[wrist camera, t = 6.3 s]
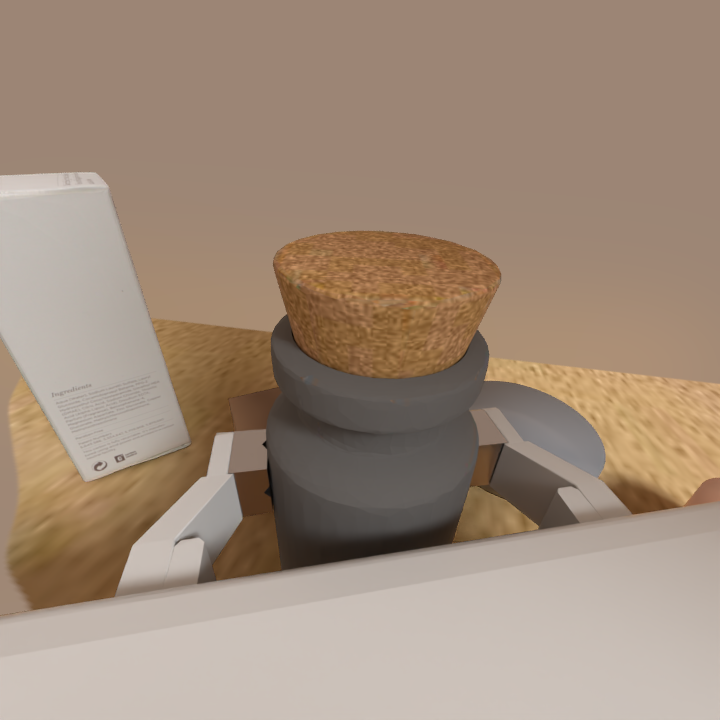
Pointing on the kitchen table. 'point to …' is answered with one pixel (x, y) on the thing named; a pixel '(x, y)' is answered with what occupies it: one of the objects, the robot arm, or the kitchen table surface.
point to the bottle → (375, 392)
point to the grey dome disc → (545, 424)
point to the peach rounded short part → (706, 493)
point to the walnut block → (252, 409)
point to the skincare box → (83, 323)
